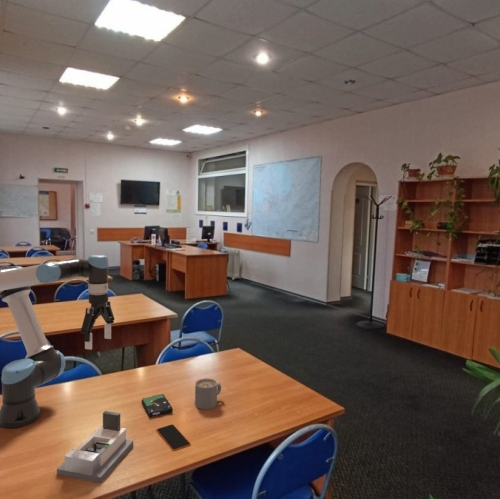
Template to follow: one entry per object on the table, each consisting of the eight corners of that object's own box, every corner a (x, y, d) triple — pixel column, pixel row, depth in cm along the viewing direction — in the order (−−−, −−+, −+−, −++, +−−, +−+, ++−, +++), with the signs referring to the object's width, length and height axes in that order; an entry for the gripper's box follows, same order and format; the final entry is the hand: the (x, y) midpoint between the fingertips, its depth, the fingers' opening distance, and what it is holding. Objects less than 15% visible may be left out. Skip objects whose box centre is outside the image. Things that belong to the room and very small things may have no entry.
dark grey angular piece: (85, 455, 136) (85, 441, 136) (88, 452, 138) (88, 438, 137) (107, 459, 135) (107, 445, 134) (110, 456, 136) (110, 442, 136)
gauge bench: (56, 474, 129) (56, 456, 129) (94, 439, 150) (94, 423, 149) (100, 483, 126) (100, 464, 126) (133, 445, 147) (133, 429, 146)
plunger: (94, 447, 141) (94, 420, 140) (105, 436, 148) (105, 410, 147) (109, 449, 140) (109, 423, 139) (120, 438, 147) (120, 413, 146)
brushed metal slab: (64, 470, 129) (64, 456, 128) (72, 462, 133) (72, 448, 132) (92, 475, 127) (92, 461, 126) (99, 467, 130) (99, 453, 130)
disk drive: (173, 414, 172) (163, 399, 184) (173, 407, 171) (163, 393, 184) (149, 419, 167) (140, 403, 179) (149, 413, 166) (141, 397, 179)
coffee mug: (201, 411, 173) (201, 389, 172) (191, 402, 182) (191, 381, 181) (227, 404, 181) (227, 383, 180) (216, 395, 189) (217, 375, 188)
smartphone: (173, 452, 144) (173, 450, 144) (155, 431, 158) (155, 429, 157) (191, 445, 148) (191, 443, 148) (173, 425, 162) (173, 423, 162)
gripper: (88, 300, 148) (88, 354, 150) (122, 288, 172) (122, 335, 175) (70, 298, 150) (70, 352, 152) (107, 286, 174) (107, 333, 176)
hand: (98, 343), depth 163 cm, fingers open, 13 cm apart
